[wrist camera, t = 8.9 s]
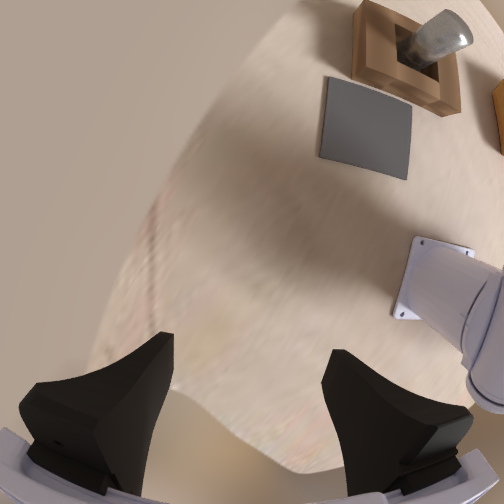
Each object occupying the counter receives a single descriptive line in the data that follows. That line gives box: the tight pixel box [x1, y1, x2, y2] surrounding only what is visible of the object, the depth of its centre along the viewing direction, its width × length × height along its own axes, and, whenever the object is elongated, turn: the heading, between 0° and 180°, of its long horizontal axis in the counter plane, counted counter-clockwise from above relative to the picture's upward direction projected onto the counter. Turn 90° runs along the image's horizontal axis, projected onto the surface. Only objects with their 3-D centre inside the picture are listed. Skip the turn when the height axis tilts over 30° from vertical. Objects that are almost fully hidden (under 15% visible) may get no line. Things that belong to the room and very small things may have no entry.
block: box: [352, 0, 461, 117], centre depth 16 cm, size 10×8×3 cm
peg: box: [396, 9, 473, 71], centre depth 13 cm, size 3×3×9 cm
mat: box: [319, 76, 412, 180], centre depth 19 cm, size 8×7×1 cm
